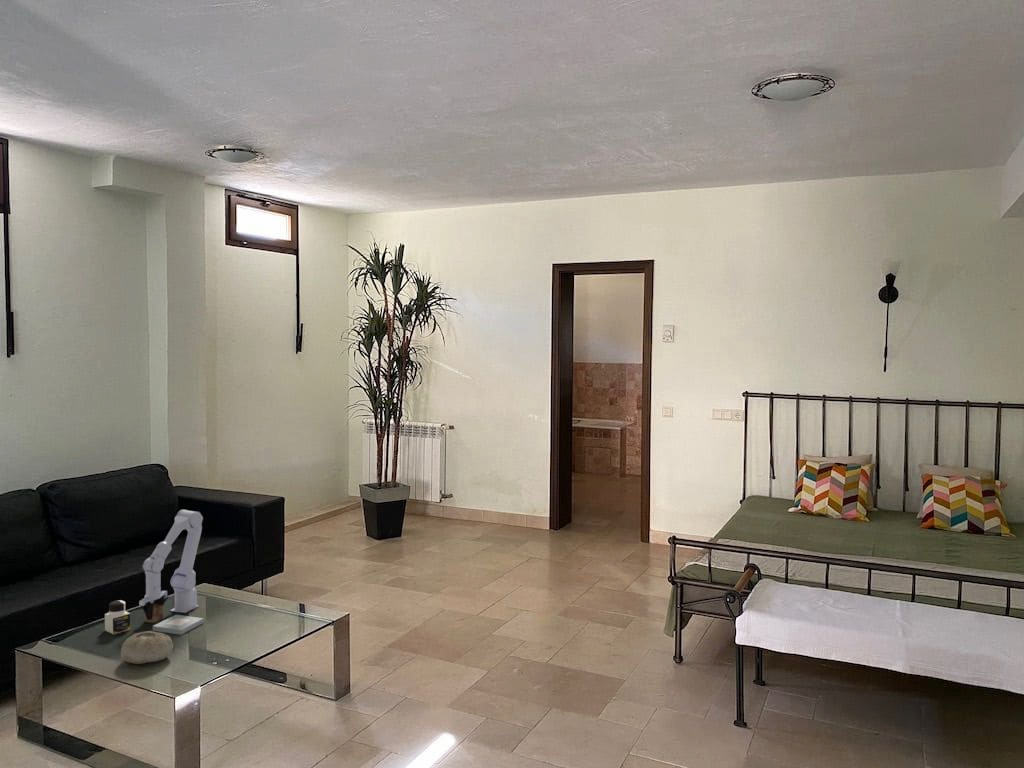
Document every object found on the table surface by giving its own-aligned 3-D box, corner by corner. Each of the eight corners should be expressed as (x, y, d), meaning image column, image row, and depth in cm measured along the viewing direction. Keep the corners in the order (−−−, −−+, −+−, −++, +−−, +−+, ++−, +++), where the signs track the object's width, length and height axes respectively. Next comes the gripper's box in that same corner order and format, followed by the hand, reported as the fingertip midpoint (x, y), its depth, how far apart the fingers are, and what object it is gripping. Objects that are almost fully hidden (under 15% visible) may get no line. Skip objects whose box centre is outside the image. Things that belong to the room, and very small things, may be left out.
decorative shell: (168, 647, 310) (168, 622, 309) (177, 663, 295) (176, 637, 294) (118, 657, 300) (117, 631, 300) (124, 674, 285) (123, 647, 285)
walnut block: (153, 617, 342) (152, 604, 342) (162, 618, 340) (162, 605, 340) (144, 621, 337) (144, 607, 337) (154, 622, 336) (154, 609, 335)
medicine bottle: (113, 634, 322) (112, 605, 321) (104, 630, 326) (104, 602, 326) (130, 629, 328) (130, 601, 327) (121, 625, 332) (121, 597, 331)
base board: (175, 619, 340) (175, 614, 340) (203, 622, 337) (203, 618, 336) (152, 630, 327) (152, 625, 327) (181, 634, 323) (181, 629, 323)
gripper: (157, 579, 346) (157, 610, 347) (133, 590, 332) (133, 621, 333) (171, 581, 344) (171, 612, 345) (147, 591, 330) (147, 623, 331)
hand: (153, 617), depth 339 cm, fingers closed on walnut block, 5 cm apart
